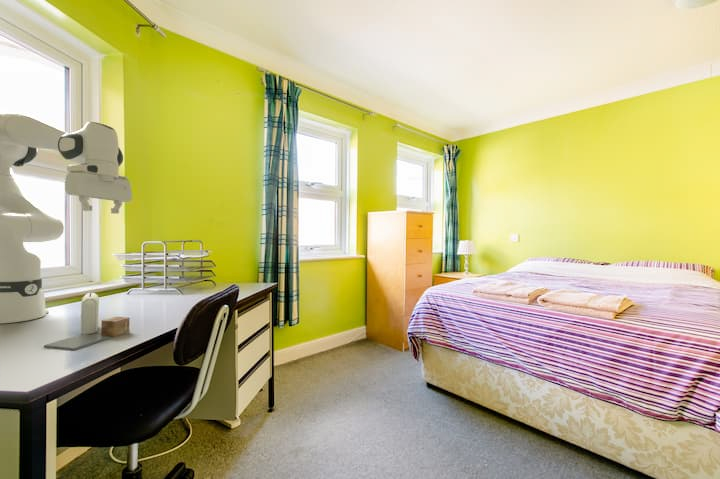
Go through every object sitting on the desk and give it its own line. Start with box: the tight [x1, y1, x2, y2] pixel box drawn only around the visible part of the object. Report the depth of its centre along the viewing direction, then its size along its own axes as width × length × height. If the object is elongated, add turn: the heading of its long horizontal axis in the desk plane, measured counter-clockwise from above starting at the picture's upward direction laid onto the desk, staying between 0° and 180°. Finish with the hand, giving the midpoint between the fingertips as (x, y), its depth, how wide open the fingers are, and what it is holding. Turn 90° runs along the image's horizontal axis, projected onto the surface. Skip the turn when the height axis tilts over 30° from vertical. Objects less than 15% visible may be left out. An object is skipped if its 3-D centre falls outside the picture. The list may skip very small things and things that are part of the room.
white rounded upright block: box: [80, 292, 100, 335], centre depth 101 cm, size 10×4×12 cm, turn 39°
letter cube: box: [100, 316, 130, 338], centre depth 98 cm, size 5×5×5 cm
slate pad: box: [43, 333, 110, 351], centre depth 90 cm, size 10×10×1 cm
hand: (102, 212), depth 103 cm, fingers open, 8 cm apart
